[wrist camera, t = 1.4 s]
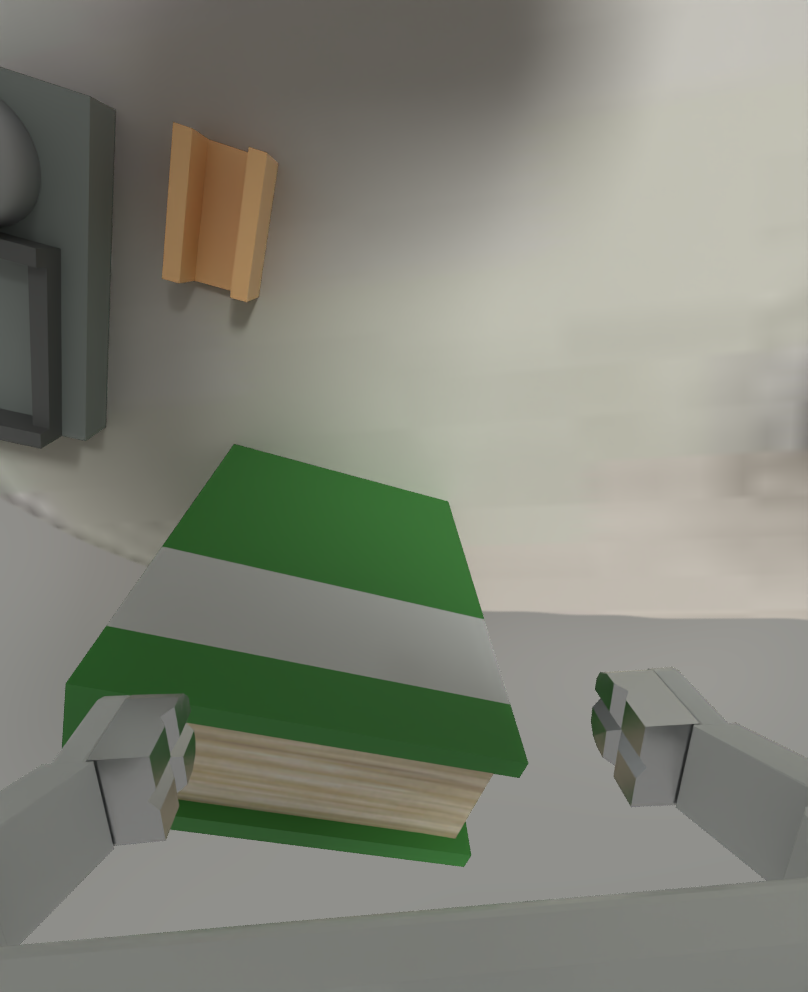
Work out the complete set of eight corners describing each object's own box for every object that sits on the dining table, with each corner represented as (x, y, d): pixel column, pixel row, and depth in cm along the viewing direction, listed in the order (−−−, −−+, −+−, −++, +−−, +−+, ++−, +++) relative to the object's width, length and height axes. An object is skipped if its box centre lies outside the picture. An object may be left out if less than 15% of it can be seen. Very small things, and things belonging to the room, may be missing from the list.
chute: (196, 136, 31) (173, 121, 27) (279, 164, 32) (267, 152, 28) (184, 275, 34) (161, 278, 30) (259, 296, 35) (246, 302, 31)
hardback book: (448, 501, 42) (528, 763, 21) (419, 572, 45) (464, 866, 24) (234, 444, 39) (65, 683, 18) (218, 524, 42) (58, 814, 20)
